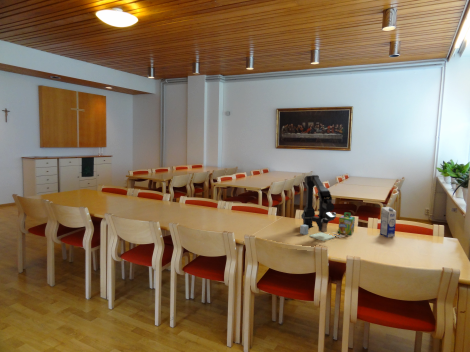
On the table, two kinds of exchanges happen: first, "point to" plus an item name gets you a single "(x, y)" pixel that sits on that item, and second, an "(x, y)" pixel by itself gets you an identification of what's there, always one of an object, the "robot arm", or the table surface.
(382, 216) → the milk carton
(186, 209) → the table surface
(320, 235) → the plate
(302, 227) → the gray block
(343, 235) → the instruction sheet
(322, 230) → the walnut block
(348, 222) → the chalk box
